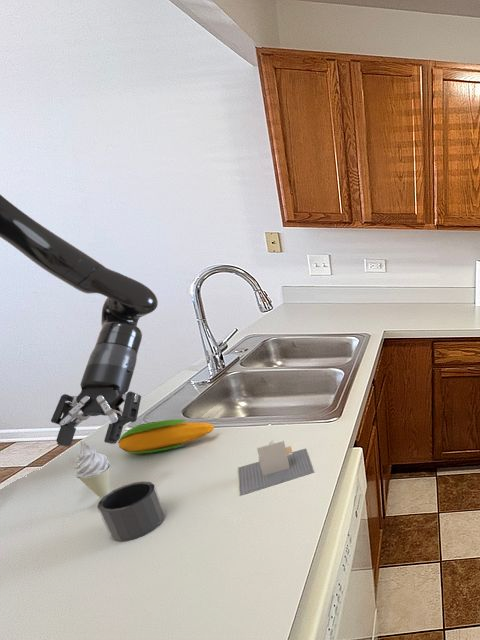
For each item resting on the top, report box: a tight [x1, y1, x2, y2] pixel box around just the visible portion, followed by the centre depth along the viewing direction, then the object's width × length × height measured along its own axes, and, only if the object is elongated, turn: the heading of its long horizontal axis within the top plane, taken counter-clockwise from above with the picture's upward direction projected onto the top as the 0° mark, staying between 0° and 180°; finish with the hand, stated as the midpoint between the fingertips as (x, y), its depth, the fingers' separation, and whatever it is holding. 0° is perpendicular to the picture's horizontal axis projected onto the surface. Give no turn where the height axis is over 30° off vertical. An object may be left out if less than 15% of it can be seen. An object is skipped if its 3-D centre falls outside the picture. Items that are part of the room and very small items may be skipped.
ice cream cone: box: [73, 440, 111, 500], centre depth 80 cm, size 5×5×15 cm
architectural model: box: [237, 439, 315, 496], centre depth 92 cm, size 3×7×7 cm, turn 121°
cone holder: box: [97, 481, 166, 542], centre depth 75 cm, size 8×8×7 cm
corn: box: [117, 419, 215, 454], centre depth 100 cm, size 7×8×20 cm
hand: (86, 444), depth 79 cm, fingers open, 8 cm apart
